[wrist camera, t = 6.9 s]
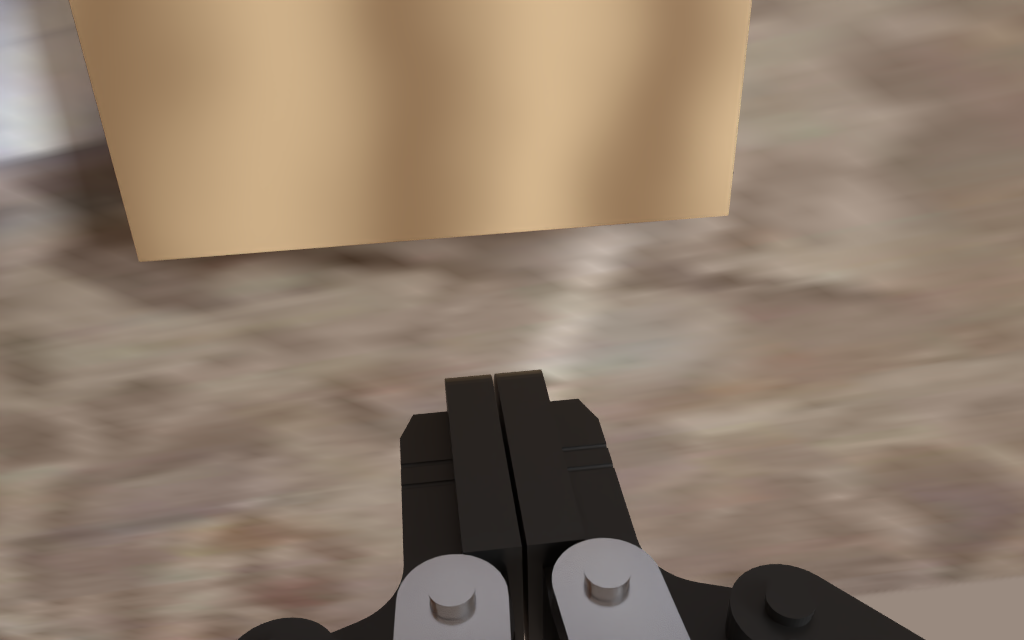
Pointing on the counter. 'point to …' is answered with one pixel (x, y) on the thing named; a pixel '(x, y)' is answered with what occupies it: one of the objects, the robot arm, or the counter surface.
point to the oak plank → (410, 116)
